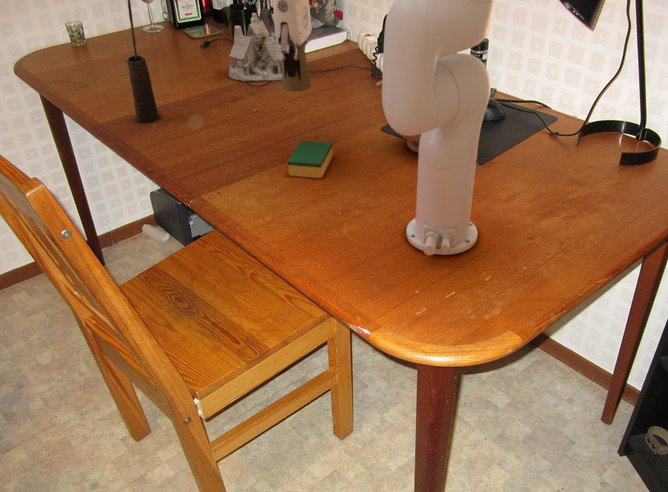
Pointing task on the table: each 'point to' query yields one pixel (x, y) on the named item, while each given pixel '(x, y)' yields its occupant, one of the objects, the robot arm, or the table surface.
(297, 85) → the pawn
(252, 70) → the ceramic cottage
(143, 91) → the butter churn
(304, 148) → the sponge
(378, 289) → the table surface
